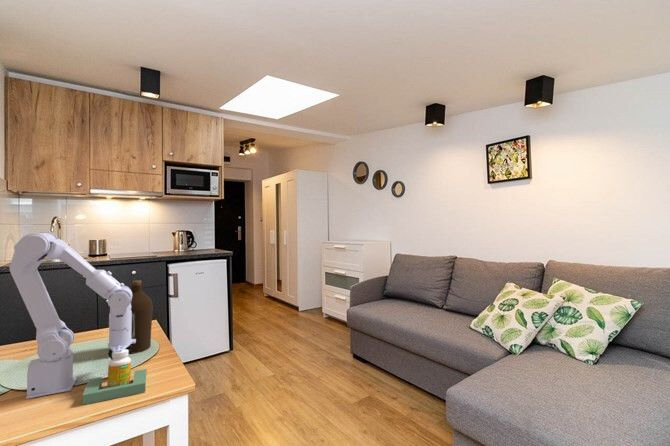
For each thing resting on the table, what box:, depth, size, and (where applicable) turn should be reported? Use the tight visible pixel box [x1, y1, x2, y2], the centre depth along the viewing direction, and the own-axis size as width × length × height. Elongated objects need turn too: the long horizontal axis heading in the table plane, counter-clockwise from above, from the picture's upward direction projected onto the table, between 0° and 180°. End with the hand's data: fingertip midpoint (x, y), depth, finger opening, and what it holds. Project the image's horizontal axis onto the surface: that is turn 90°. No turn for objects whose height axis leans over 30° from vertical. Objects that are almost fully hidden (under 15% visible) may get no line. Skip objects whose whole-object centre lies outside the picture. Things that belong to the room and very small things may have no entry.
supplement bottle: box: [106, 349, 132, 388], centre depth 93 cm, size 5×5×10 cm
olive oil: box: [129, 279, 154, 354], centre depth 120 cm, size 11×11×25 cm
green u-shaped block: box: [81, 368, 147, 406], centre depth 91 cm, size 14×10×2 cm
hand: (119, 372), depth 99 cm, fingers closed
